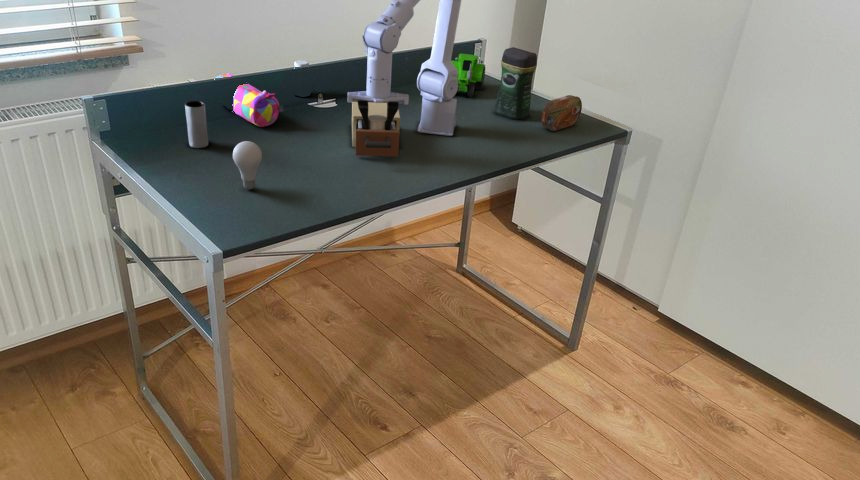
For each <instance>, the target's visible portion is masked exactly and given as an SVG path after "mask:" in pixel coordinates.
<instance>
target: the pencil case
mask: <svg viewBox="0 0 860 480" xmlns="http://www.w3.org/2000/svg"><path fill="white" fill-rule="evenodd" d="M231 76H234V75H233V74H232V73H224V74H220V75H217V76H216V77H215V78H223V77H231ZM275 95H276V93H270V92H268V91H267V90H263V91H261V90H259V88H256V87H255V86H253V85H252V84H250V83H248V84H243V85H239V86H238V87H237V89H236V91H235V93H234V96H233V104H232V106H233V111H234V112H235V113H234V112H233V111H232V112H233V113H234V114H236V115H237V116H239V117H241V118H243V119H244V120H245V121H247V122H249V123H251V124H253V125H254V126H257V127H260V128H264V127H268V126H271V125H273V124H274V123H275V122H276V121H277V119H278V117H279V115H280V114H279V113H282V112H284V109H285V108H284V106H285V105H284V104H282V105H280V103H279V100H278V98H276V97H275Z"/></svg>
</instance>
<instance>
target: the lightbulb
mask: <svg viewBox="0 0 860 480" xmlns="http://www.w3.org/2000/svg"><path fill="white" fill-rule="evenodd" d="M262 159H263V153H262V150H261V148H260V146H259V145H257V144H256V143H255V142H253V141H250V140H243V141H240V142H239V143H237V144H236V145H235V147H234V148H233V151H232V160H233V162H234V164H235V165H236V167H237V168H238V170H239V172H240V178H241V180H242V185H243V188H244V189H246V190H249V191H250V190H253V189H254V188H255V187H256V178H257V171H258V169H259V167H260V164H261V162H262Z"/></svg>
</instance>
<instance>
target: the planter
mask: <svg viewBox="0 0 860 480" xmlns="http://www.w3.org/2000/svg"><path fill="white" fill-rule="evenodd" d="M184 109H185V118H186V119H185V121H186V127H187V136H188V137H187V138H188V144H189V146H190V147H191V148H195V149H201V148H206V147H208V146H209V133H208V123H207V114H206V103H205V102H204V101H201V100H188V101H186V102H184Z"/></svg>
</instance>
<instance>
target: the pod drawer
mask: <svg viewBox="0 0 860 480" xmlns="http://www.w3.org/2000/svg"><path fill="white" fill-rule="evenodd" d="M399 147H400V130H399V131H396V127H395V121H394V120H392V122H391V125H390V129H389V130H386V123H385V130H369V120H368V130H365V125H364V121H363V119H358V126H357V129H356V147H354V149H355V152H354V153H355V156H356V157H357V156H358V157H359V156H361V157H364V156H365V157H394V158H395V157H396V158H399V149H400V148H399Z"/></svg>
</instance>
